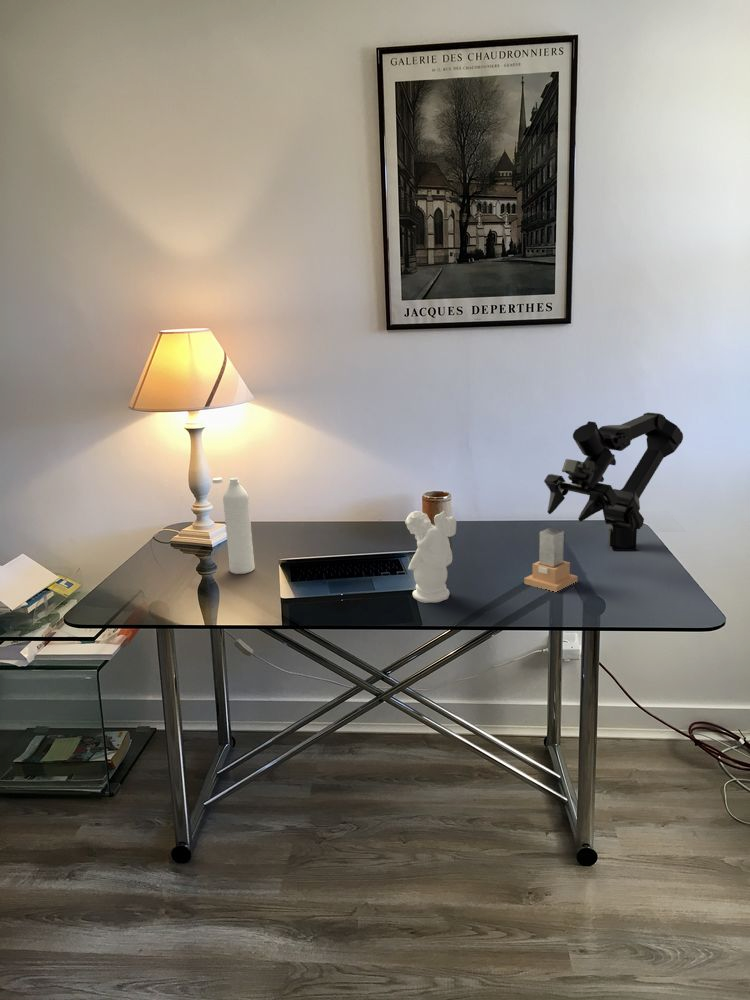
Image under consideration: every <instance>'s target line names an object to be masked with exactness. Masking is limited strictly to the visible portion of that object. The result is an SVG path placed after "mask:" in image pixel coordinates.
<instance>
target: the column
mask: <svg viewBox="0 0 750 1000" xmlns="http://www.w3.org/2000/svg"><path fill="white" fill-rule="evenodd" d="M564 533H565V531H564V530H560V529H556V528H552V527H549V528H546V529H544V530H540V531H539V552H538V553H539V557H538V558H539V559H538V561H539V564H540V565H544V566H548V567H551V568H555V567H558V566H560V565H562V564H563V561H564V537H565V534H564Z"/></svg>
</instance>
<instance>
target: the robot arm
mask: <svg viewBox="0 0 750 1000" xmlns="http://www.w3.org/2000/svg"><path fill="white" fill-rule="evenodd" d="M644 435H645V436H646V450H645V452H644V453H643V455H642V456H641V458H640V460H639V461H638V463H637V464H636V466H635V468H634V469H633V471H632V472H631V474H630V476H629V477H628V479H627V480H626V482H625V484H624V485H623V487H622V488H621V489H617V488H613V486H612V485H611V484H605V483H603V482H604V481H605V478H604V477H603V476H604V474H605V472H606V471H607V469H608V467H609V466H616V465H617V461H616V458H615V454H613V452H612V451H616V452H621V451H622V452H623V451H624V450H626V448H628V447H629V446H630V445H631V442H632V440H635V439H636V438H639V437H641V436H644ZM572 438H573V440H574V442H575V443H576V446H577V447H578V449H579V450H580V451H581V453H582V455H583V456H586V458H585V459H584V461H581V460H576V459H575V460H574V459H569V458H566V459H565V461H564V463H563V467H562V469H561V471H562V473H565V474H567V475H568V476H567V478H568V480H569V481H571V482H569V481H568V482H567V481H566V480H565V478H564V476H562V475H558V474H554V473H550V474H547V476H546V478H545V479H544V481H543V482H544V484H545V485H546V486H547V488H548V490H549V493H550V494H549V501H548V507H547V514H548V515H551V514H552V513H554V511H555V510H556V509H557V508H558V507H559V506H560V505H561V504H562V502H563V501H564V500H565V499H566V497H565V496H566V495H567V494H568V493H569V492H573V493H578V494H582V495H587V496H589V497H588V500H587V502H586V504H585V506H583V508H582V510H581V512H580V514H579V516H578V521H579V522H583V521H585V520H586V519H588V518H589V517H591V516H593V515H594V514H596V513H598V512H600V511H602V513H603V518H604V522H605V524H606V525H610V528H609V529H608V531H607V532H608V533H607V536H608V537H607V539H608V540H607V544H608V546H609V547H610V548H611V549H612V551H639V550H638V549H639V548H638V546H637V536H638V535H637V534H638V530H640V529H641V528H642V527H643V525H644V521H645V519H644V517H643V515H642V514H641V512H640V510H641V506H640V505H641V504H640V498H641V496H642V494H643V492H645V489H646V488H647V486H648V485H649V483H650V481H651V480H652V478H653V476H654V475H655V472H656V471H657V470H658V468H659V467H660V464H661V462H663V460H664V458H666V457H668V456H669V455H671V454H673V453H674V452H675V451H676V450H677V449H678V448H679V446H681V444H682V442H683V440H684V434H683V432H682V430H681V428H679V426H678V425H676V424H675V423H673V422H672V421H670V420H668V419H667V418H666V417H665V415H664V414H661V413H658V412H645V413H643V414H642V415H641V416H638V417H636V418H633V419H632V420H629V421H625V422H623V423H622V424H611V425H610V424H609V425H602V426H601V427H598V424H597V423H596V422H595V421H588V422H586V424H583V425H581V426H579V427H577V428H576V429H575V430H574V431H573V433H572Z"/></svg>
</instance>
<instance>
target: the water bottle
mask: <svg viewBox="0 0 750 1000" xmlns="http://www.w3.org/2000/svg"><path fill="white" fill-rule="evenodd" d="M222 483H224V482H223V478H222V477H214V478H212V484H222ZM222 502H223V509H224V511H223V513H224V522H225V532H226V542H227V543H226V544H227V554H228V561H229V564H228V565H229V566H228V567H229V572H231V574H235V575H240V574H241V575H242V574H247V573H251V572H252V571H254V570H255V566H256V565H255V558H254V557H255V556H254V547H253V535H252V534H253V533H252V525H251V524H252V523H251V514H250V513H251V512H250V505H249V504H250V502H249V494H248V492H247V491H246V490H245V488H244V487H243V486H242V485H241V484H240V479H239V477H231V478H229V482H228V486H227V488H226V490H225V491H224V493H223V498H222Z"/></svg>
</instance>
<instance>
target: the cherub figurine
mask: <svg viewBox="0 0 750 1000" xmlns="http://www.w3.org/2000/svg"><path fill="white" fill-rule="evenodd" d="M433 521H434V524H433V523H431V522H432V521H431V519H430V517H429V516H428V514H427V513H425V512H423V511H422V510H420V511H419V510H414V511H412V512H410V513H409V514H408V515H407V518H406V519H405V522H404V523H405V525H406V528H407V530H408V531H409V533H410V534H411V535H414V538H415V540H416V546H417V548H416V550H415V553H414V554H413V557H412V558H411V560H410V562H409V564H408V567H407V570H409V571H413V579H414V581H415V583H416V584H415V589H416V590H415V589H414V590H413V591H412V597H413V598H414V599H415V600H416V601H418V602H420V603H426V604H428V603H436V604H437V603H440V602H442V601H443V602H444V601H445V600H448V599H449V598H450V597H449V596H450V590H449V589H448V588H447V584H446V582H447V579H448V568H447V567H448V566H450V565H451V564H452V562H453V552H452V549H451V546H450V539H449V537H450V538H451V537H453V536H454V535H456V533H457V532H456V531H457V518H456V517H455V516H452V515H451V516H450V517H449V516H447V514H446V511H445V510H443V511H441V512H440V513H439V514H437V513H436V515H435V516H434V517H433Z"/></svg>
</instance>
